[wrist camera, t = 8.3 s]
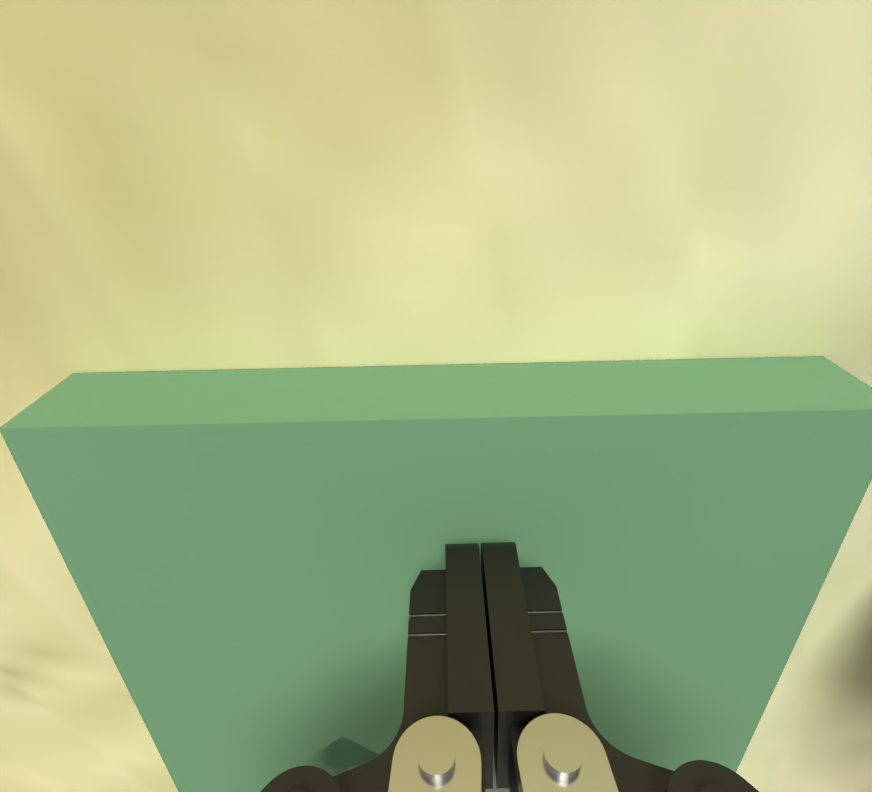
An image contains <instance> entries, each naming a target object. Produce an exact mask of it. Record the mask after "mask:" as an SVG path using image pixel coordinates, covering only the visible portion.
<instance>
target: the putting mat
mask: <svg viewBox="0 0 872 792" xmlns="http://www.w3.org/2000/svg"><path fill="white" fill-rule="evenodd" d="M0 432H1V434H2V436H3V438H4V440H5V442H6V444H7V446H8V448H9V450H10V452H11V454H12V456H13V458H14V460H15V462H16V464H17V466H18V468H19V470H20V472H21V474H22V476H23V478H24V480H25V482H26V484H27V486H28V488H29V490H30V492H31V494H32V496H33V498H34V500H35V502H36V504H37V506H38V509H39V511H40V513H41V515H42V517H43V519H44V521H45V523H46V525H47V527H48V529H49V531H50V533H51V535H52V537H53V539H54V541H55V543H56V545H57V547H58V549H59V551H60V553H61V555H62V557H63V559H64V561H65V563H66V565H67V567H68V569H69V571H70V573H71V575H72V577H73V579H74V581H75V583H76V585H77V587H78V589H79V591H80V593H81V595H82V597H83V599H84V601H85V603H86V605H87V607H88V610H89V612H90V614H91V616H92V618H93V620H94V622H95V624H96V626H97V628H98V630H99V632H100V634H101V636H102V638H103V640H104V642H105V644H106V646H107V648H108V650H109V652H110V654H111V656H112V658H113V660H114V662H115V664H116V666H117V668H118V670H119V672H120V674H121V676H122V678H123V680H124V682H125V684H126V686H127V688H128V690H129V692H130V694H131V696H132V698H133V700H134V702H135V704H136V706H137V708H138V711H139V713H140V715H141V717H142V719H143V721H144V723H145V725H146V727H147V729H148V731H149V733H150V735H151V737H152V739H153V741H154V743H155V745H156V747H157V749H158V751H159V753H160V755H161V757H162V759H163V761H164V763H165V765H166V767H167V769H168V771H169V773H170V775H171V777H172V779H173V781H174V783H175V785H176V787H177V789H178V791H179V792H261V791H262V790H263V788H264V787H265V786H266V785H267V784H268V783H269V782H270V781H271V780H273V779H274V778H275V777H276V776H278V775H279V774H281V773H282V772H284V771H286V770H288V769H291V768H294V767H297V766H304V765H306V766H315V767H319V768H321V769H323V770H325V771H327V772H328V773H329V774H330V775H332V777H333V776H335V775H338V774H340V773H343V772H345V771H348V770H350V769H353V768H355V767H358V766H360V765H363V764H365V763H367V762H369V761H371V760H373V759H374V758H376V757H377V756H379V755H380V754H381V753H382V752H383V751H385V750H386V749H387V747H388V746H389V745H390V744H391V743H392V741H393V740H394V738H395V736H396V735H397V733H398V730H399V728H400V726H401V722H402V718H403V711H404V693H405V675H406V658H407V640H408V622H409V604H410V590H411V588H412V586H413V585H414V583H415V581H416V579H417V577H418V575H419V574H420V572H421V570H446V564H445V544H462V543H478V544H479V552H480V563H481V543H490V542H515V544H516V548H517V554H518V559H519V565H520V567H542V568H543V569H544V570H545V572H546V573H547V574H548V576H549V577H550V578H551V580H552V581H553V582H554V584H555V585H556V586H557V590H558V594H559V599H560V603H561V607H562V614H563V615H564V619H565V623H566V627H567V634H568V635H569V640H570V644H571V648H572V652H573V656H574V660H575V664H576V668H577V672H578V676H579V680H580V685H581V689H582V693H583V697H584V701H585V705H586V708H587V712H588V715H589V717H590V719H591V721H592V723H593V724H594V726H595V727H596V729H597V730H598V732H599V733H600V734H601V735H602V736H603V737H604V738H605V739H606V740H607V741H608V742H609V743H610V744H611V745H612V746H614V747H615V748H617V749H618V750H620V751H621V752H623V753H625V754H627V755H629V756H631V757H634V758H636V759H639V760H642V761H645V762H648V763H651V764H654V765H657V766H660V767H663V768H666V769H669V770H672V771H675V770H676V769H677V768H678V767H679V766H680V765H682V764H684V763H686V762H689V761H693V760H706V761H711V762H715V763H718V764H721V765H723V766H725V767H727V768H729V769H731V770H732V771H734V772H736V771H737V769H738V766H739V764H740V762H741V760H742V758H743V756H744V753H745V751H746V749H747V747H748V745H749V743H750V741H751V738H752V736H753V734H754V732H755V730H756V728H757V725H758V723H759V721H760V719H761V717H762V715H763V712H764V710H765V708H766V706H767V704H768V702H769V700H770V697H771V695H772V693H773V691H774V689H775V687H776V684H777V682H778V680H779V678H780V676H781V674H782V671H783V669H784V667H785V665H786V663H787V661H788V658H789V656H790V654H791V652H792V650H793V648H794V646H795V643H796V641H797V639H798V637H799V635H800V633H801V630H802V628H803V626H804V624H805V622H806V620H807V617H808V615H809V613H810V611H811V609H812V607H813V605H814V602H815V600H816V598H817V596H818V594H819V592H820V589H821V587H822V585H823V583H824V581H825V579H826V576H827V574H828V572H829V570H830V568H831V566H832V563H833V561H834V559H835V557H836V555H837V553H838V551H839V548H840V546H841V544H842V542H843V540H844V538H845V535H846V533H847V531H848V529H849V527H850V525H851V522H852V520H853V518H854V516H855V514H856V512H857V510H858V507H859V505H860V503H861V501H862V499H863V497H864V494H865V492H866V490H867V488H868V486H869V484H870V481H871V479H872V388H871V387H870V386H868V385H867V384H865V383H864V382H862V381H860V380H859V379H857V378H856V377H854V376H853V375H851V374H850V373H848V372H846V371H845V370H843V369H842V368H840V367H839V366H837V365H836V364H834V363H833V362H831V361H829V360H828V359H826V358H825V357H823V356H810V357H765V358H721V359H677V360H633V361H588V362H544V363H500V364H456V365H411V366H367V367H323V368H279V369H234V370H190V371H146V372H102V373H73V374H71V375H70V376H69V377H67V378H66V379H65V380H63V381H62V382H61V383H59V384H58V385H57V386H55V387H54V388H53V389H51V390H50V391H49V392H47V393H46V394H45V395H43V396H42V397H40V398H39V399H38V400H36V401H35V402H34V403H32V404H31V405H30V406H28V407H27V408H26V409H24V410H23V411H22V412H20V413H19V414H18V415H16V416H15V417H14V418H12V419H11V420H10V421H8V422H7V423H6V424H4V425H3V426H1V427H0ZM493 764H494V753H493Z"/></svg>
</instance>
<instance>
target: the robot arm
mask: <svg viewBox="0 0 872 792" xmlns="http://www.w3.org/2000/svg"><path fill="white" fill-rule="evenodd" d="M445 564H446V570H421V572H420V574H419V575H418V577H417V579H416V581H415V583H414V585H413V586H412V588H411V590H410V604H409V622H408V640H407V658H406V675H405V693H404V711H403V718H402V722H401V726H400V728H399V730H398V733H397V735H396V736H395V738H394V740H393V741H392V743H391V744H390V745H389V746H388V747H387V749H386V750H385V751H383V752H382V753H381V754H380V755H379V756H377V757H376V758H374V759H373V760H371V761H369V762H367V763H365V764H363V765H360V766H358V767H355V768H353V769H350V770H348V771H345V772H343V773H340V774H338V775H335V776H333V777H332V775H330V774H329V773H328V772H327V771H325V770H323V769H321V768H319V767H315V766H306V765H304V766H297V767H294V768H291V769H288V770H286V771H284V772H282V773H281V774H279V775H278V776H276V777H275V778H274V779H273V780H271V781H270V782H269V783H268V784H267V785H266V786H265V787H264V788H263V790H262V791H261V792H486V789H493V753H494V764H495V776H496V787H497V788H509V790H510V792H759V791H758V790H756V789H755V788H754V787H753V786H752V785H751V784H749V783H748V782H747V781H746V780H745V779H743V778H742V777H741V776H740V775H738V774H737V773H736V772H734V771H732V770H731V769H729V768H727V767H725V766H723V765H721V764H718V763H715V762H711V761H706V760H693V761H689V762H686V763H684V764H682V765H680V766H679V767H678V768H677V769H676V770H675V771H672V770H669V769H666V768H663V767H660V766H657V765H654V764H651V763H648V762H645V761H642V760H639V759H636V758H634V757H631V756H629V755H627V754H625V753H623V752H621V751H620V750H618V749H617V748H615V747H614V746H612V745H611V744H610V743H609V742H608V741H607V740H606V739H605V738H604V737H603V736H602V735H601V734H600V733H599V732H598V730H597V729H596V727H595V726H594V724H593V723H592V721H591V719H590V717H589V715H588V712H587V708H586V705H585V701H584V697H583V693H582V689H581V685H580V680H579V676H578V672H577V668H576V664H575V660H574V656H573V652H572V648H571V644H570V640H569V635H568V634H567V627H566V623H565V619H564V615H563V614H562V607H561V603H560V599H559V594H558V590H557V586H556V585H555V584H554V582H553V581H552V580H551V578H550V577H549V576H548V574H547V573H546V572H545V570H544V569H543V568H542V567H520V565H519V559H518V554H517V548H516V544H515V542H490V543H481V563H480V552H479V544H478V543H462V544H445Z"/></svg>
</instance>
